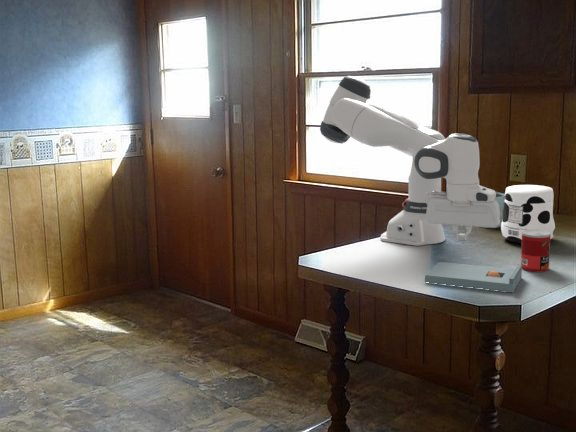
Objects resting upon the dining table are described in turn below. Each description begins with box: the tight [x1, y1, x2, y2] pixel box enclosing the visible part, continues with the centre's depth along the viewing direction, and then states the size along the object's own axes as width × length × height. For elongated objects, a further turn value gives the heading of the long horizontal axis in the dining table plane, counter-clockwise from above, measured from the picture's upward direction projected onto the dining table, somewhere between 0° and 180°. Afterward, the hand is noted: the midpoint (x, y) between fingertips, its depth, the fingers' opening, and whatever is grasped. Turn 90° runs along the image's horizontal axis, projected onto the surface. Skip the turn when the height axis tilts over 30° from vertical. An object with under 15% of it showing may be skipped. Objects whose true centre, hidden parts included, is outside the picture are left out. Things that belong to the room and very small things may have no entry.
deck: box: [424, 261, 523, 293], centre depth 195 cm, size 24×14×4 cm, turn 63°
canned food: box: [520, 230, 551, 273], centre depth 203 cm, size 8×8×11 cm
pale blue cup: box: [482, 191, 505, 229], centre depth 257 cm, size 10×10×12 cm
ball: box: [487, 271, 500, 277], centre depth 192 cm, size 4×4×4 cm
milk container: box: [500, 184, 556, 244], centre depth 233 cm, size 17×17×18 cm
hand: (462, 240), depth 195 cm, fingers closed
